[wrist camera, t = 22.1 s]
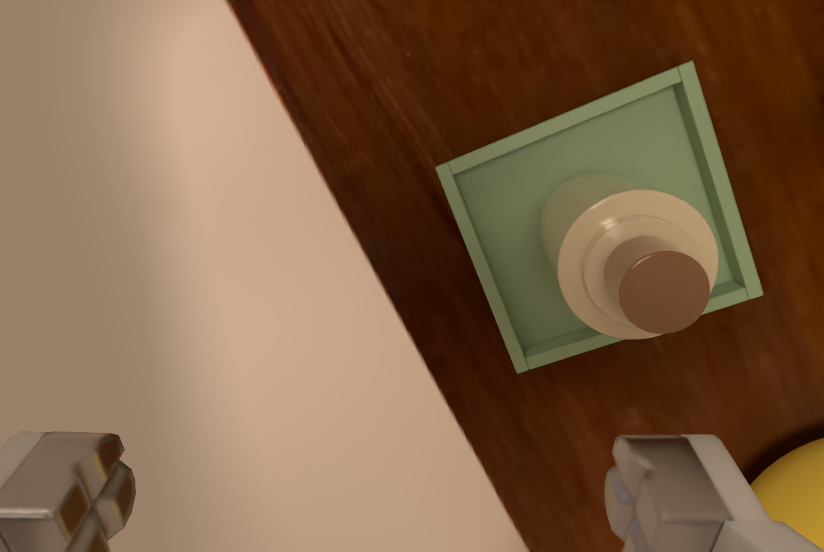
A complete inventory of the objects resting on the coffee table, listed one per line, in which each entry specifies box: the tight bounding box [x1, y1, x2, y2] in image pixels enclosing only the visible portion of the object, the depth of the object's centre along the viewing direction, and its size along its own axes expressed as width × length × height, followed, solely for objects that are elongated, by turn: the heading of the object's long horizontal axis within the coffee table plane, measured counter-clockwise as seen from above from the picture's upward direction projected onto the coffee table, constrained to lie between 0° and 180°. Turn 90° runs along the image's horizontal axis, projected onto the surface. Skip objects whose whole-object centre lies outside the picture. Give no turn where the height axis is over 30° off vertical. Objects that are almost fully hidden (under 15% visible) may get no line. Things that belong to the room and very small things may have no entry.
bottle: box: [538, 172, 719, 339], centre depth 27 cm, size 6×6×15 cm
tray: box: [435, 61, 764, 373], centre depth 34 cm, size 15×14×3 cm
